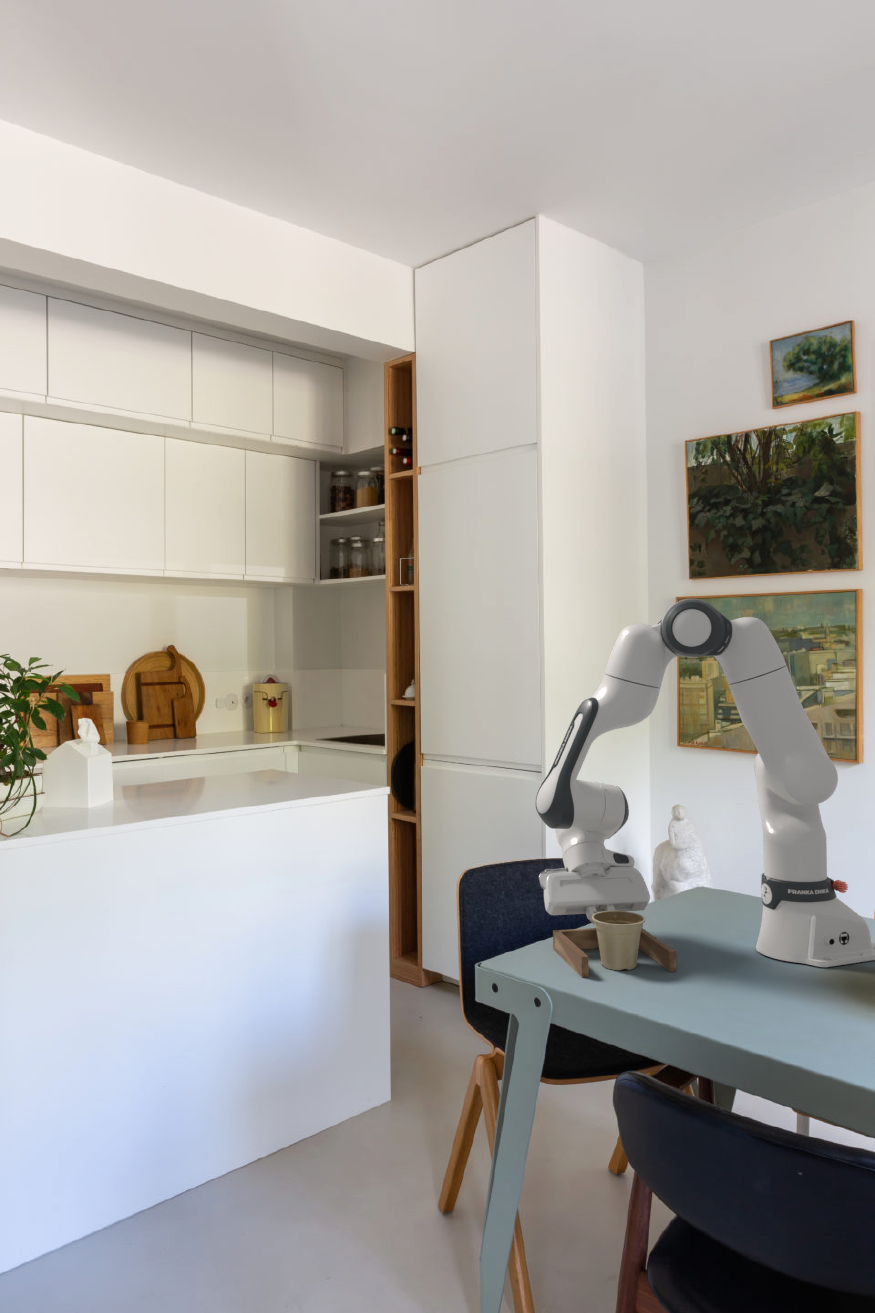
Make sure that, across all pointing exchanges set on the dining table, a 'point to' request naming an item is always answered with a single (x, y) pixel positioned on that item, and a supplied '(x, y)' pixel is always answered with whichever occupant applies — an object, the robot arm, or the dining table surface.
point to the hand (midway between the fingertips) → (605, 930)
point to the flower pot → (618, 938)
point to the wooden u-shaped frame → (577, 939)
